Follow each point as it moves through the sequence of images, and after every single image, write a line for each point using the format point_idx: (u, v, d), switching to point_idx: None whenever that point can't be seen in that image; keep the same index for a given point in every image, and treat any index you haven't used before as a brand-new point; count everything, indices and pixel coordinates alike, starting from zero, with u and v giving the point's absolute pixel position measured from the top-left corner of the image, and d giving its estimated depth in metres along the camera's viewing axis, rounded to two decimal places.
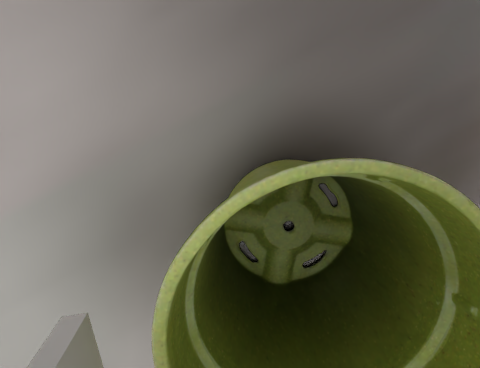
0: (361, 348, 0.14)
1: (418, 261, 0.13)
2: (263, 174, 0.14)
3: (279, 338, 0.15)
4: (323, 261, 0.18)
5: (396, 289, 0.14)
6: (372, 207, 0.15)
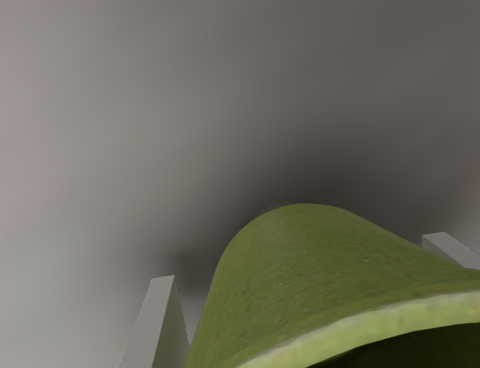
0: None
1: None
2: (274, 237, 0.09)
3: None
4: None
5: None
6: None
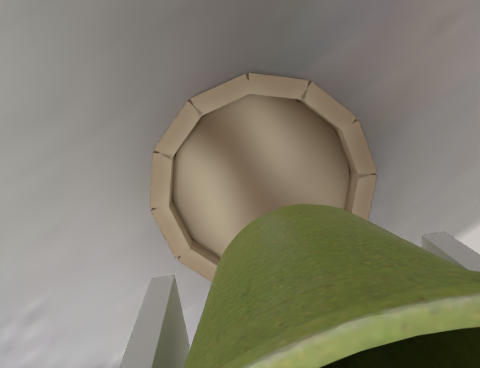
0: None
1: None
2: (275, 239, 0.09)
3: None
4: None
5: None
6: None
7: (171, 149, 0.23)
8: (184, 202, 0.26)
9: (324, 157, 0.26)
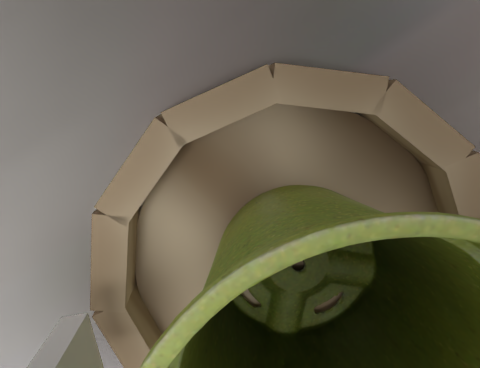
0: None
1: (476, 328, 0.10)
2: (270, 208, 0.11)
3: None
4: (339, 305, 0.15)
5: (440, 357, 0.11)
6: (406, 249, 0.12)
7: (127, 207, 0.12)
8: (156, 290, 0.15)
9: None
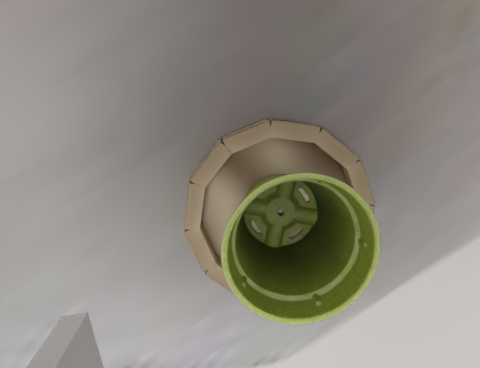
0: (317, 273, 0.26)
1: (345, 226, 0.25)
2: (268, 180, 0.27)
3: (274, 270, 0.27)
4: (300, 234, 0.31)
5: (337, 243, 0.27)
6: (326, 200, 0.27)
7: (204, 181, 0.28)
8: (211, 224, 0.31)
9: None
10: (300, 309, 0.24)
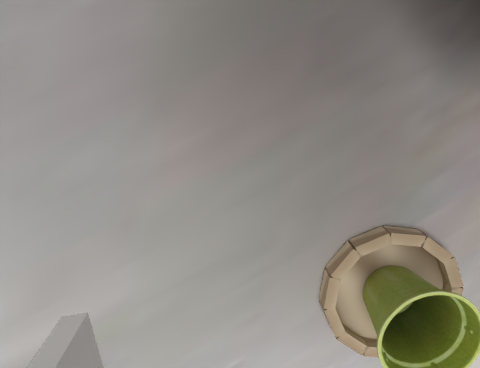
0: (429, 344, 0.37)
1: (451, 313, 0.36)
2: (392, 278, 0.37)
3: (394, 340, 0.38)
4: (404, 307, 0.41)
5: (442, 322, 0.37)
6: None
7: (341, 275, 0.39)
8: (339, 301, 0.41)
9: (428, 274, 0.41)
10: None
